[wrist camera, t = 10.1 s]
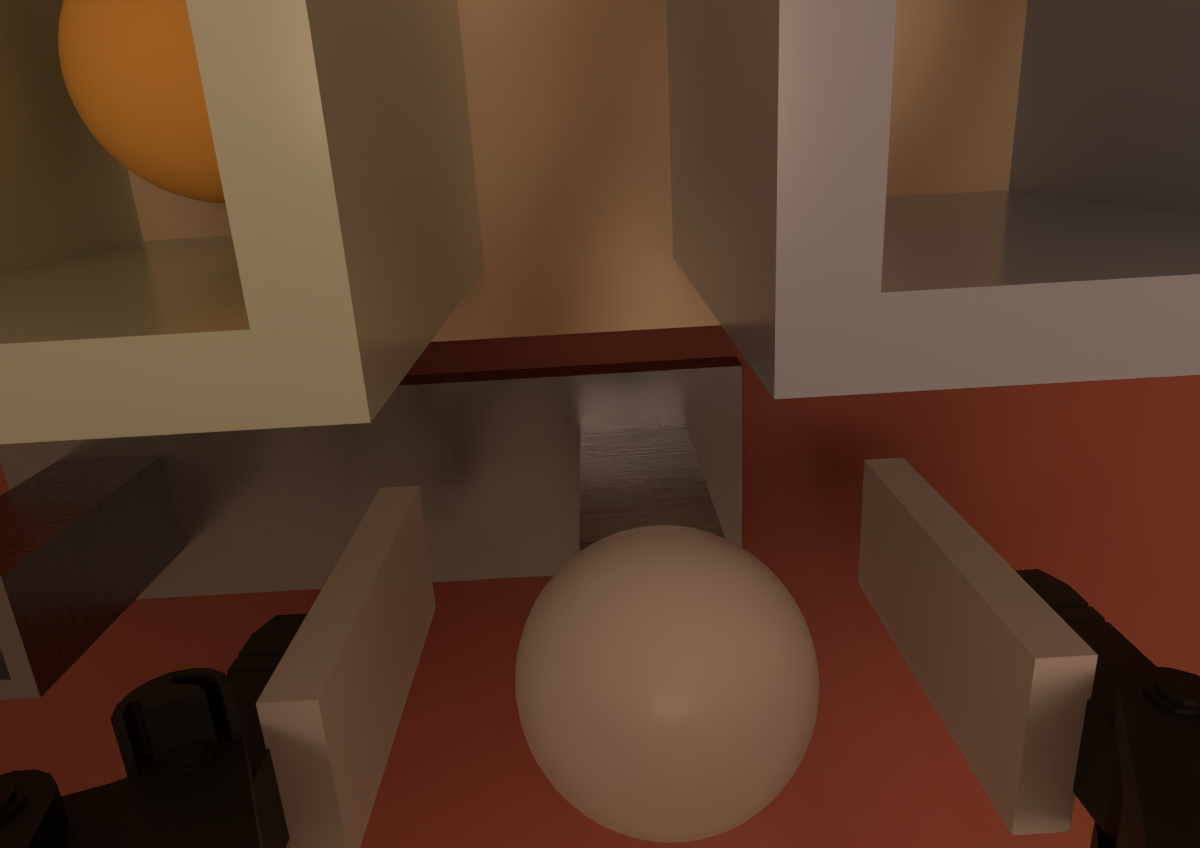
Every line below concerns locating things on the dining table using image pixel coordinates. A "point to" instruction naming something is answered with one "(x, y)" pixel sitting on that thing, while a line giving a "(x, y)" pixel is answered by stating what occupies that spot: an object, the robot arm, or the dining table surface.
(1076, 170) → the grey square bin
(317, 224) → the tube sage
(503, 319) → the board
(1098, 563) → the dining table surface
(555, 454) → the ball rack
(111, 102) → the orange ball
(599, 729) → the white ball
